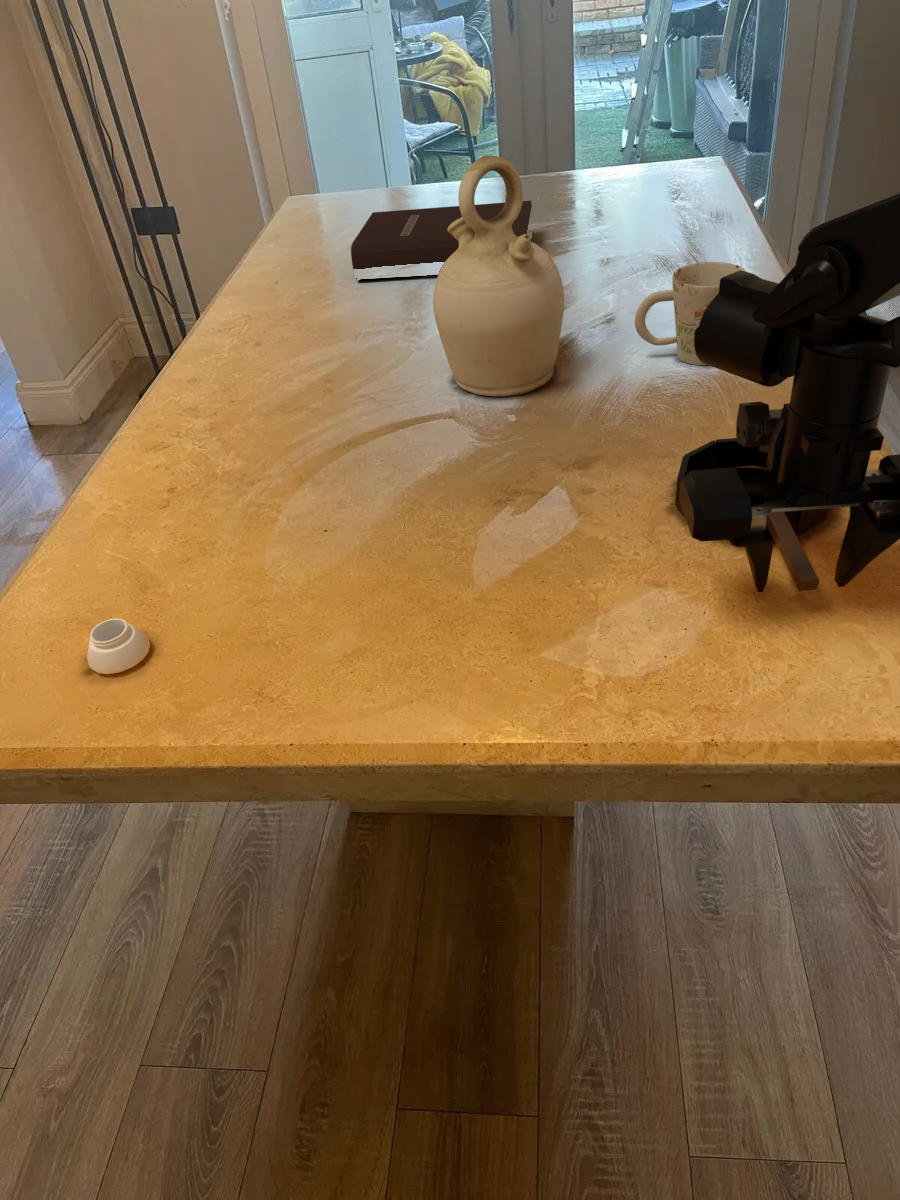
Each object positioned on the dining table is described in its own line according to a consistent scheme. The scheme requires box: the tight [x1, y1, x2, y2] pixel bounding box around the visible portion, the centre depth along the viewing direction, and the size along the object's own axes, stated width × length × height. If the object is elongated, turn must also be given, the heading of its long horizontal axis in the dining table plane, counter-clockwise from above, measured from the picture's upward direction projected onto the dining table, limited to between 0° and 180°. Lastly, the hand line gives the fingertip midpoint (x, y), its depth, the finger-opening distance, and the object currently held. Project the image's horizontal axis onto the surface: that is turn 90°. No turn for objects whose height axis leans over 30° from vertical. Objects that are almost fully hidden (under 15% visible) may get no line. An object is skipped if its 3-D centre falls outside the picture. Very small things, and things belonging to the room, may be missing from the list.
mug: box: [634, 261, 747, 366], centre depth 102 cm, size 8×13×10 cm, turn 89°
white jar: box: [86, 617, 151, 675], centre depth 70 cm, size 5×3×5 cm
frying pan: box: [674, 437, 830, 592], centre depth 74 cm, size 23×14×4 cm, turn 179°
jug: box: [432, 155, 565, 397], centre depth 98 cm, size 15×16×25 cm
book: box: [350, 200, 533, 270], centre depth 142 cm, size 28×20×6 cm
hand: (798, 586), depth 67 cm, fingers open, 6 cm apart
